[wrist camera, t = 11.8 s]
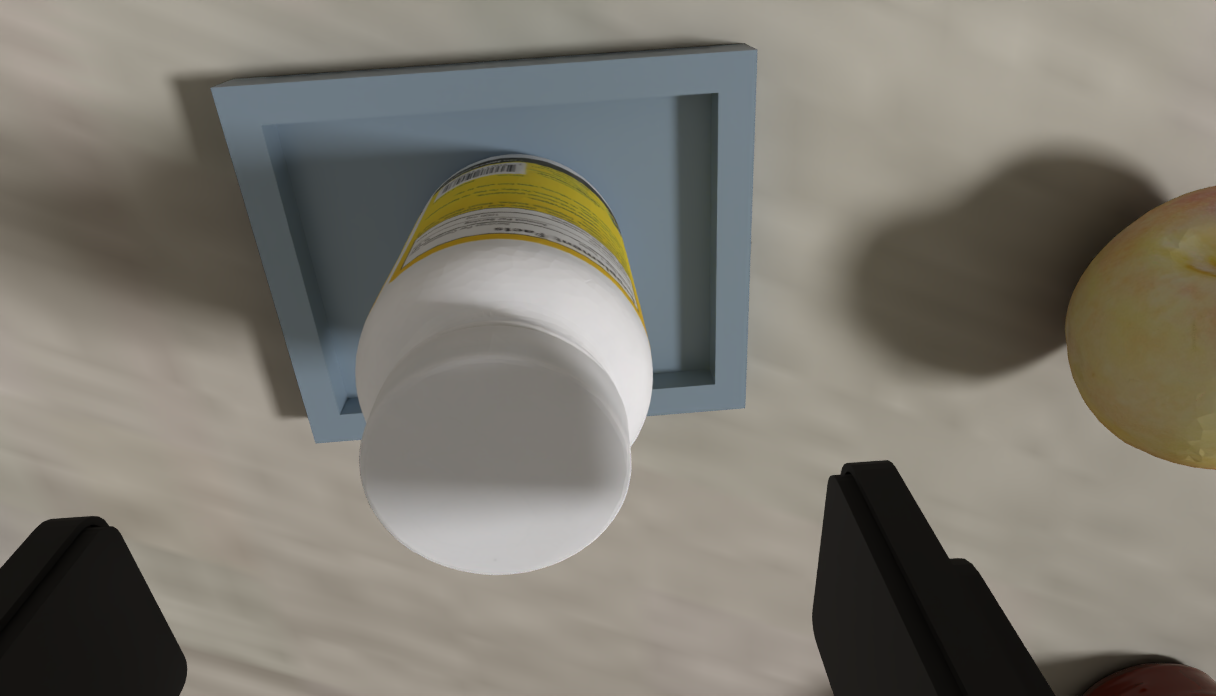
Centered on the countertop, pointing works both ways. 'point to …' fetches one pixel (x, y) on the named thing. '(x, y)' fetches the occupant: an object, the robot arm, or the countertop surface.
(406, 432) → the pill bottle
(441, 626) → the countertop surface
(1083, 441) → the countertop surface
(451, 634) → the countertop surface
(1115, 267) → the fruit
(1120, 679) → the mug
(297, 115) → the tray
